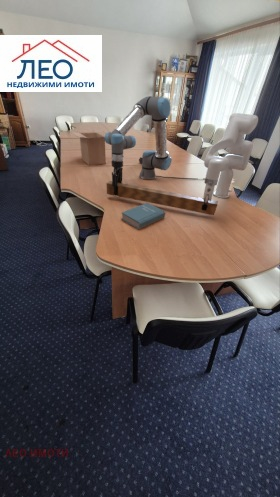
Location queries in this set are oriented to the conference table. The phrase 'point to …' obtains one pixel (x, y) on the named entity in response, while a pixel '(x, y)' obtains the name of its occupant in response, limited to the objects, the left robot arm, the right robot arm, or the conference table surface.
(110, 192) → the bar
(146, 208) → the book
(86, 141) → the box
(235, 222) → the conference table surface
